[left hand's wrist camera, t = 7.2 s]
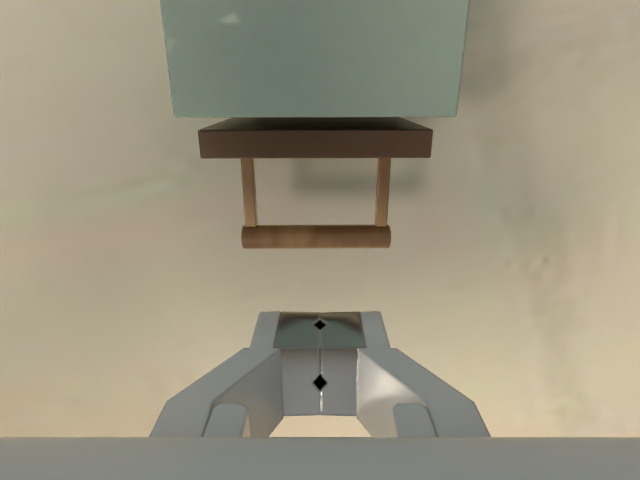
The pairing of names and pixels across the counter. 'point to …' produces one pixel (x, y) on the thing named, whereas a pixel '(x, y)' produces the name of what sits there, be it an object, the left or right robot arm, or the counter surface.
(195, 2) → the cabinet
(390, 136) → the drawer
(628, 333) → the counter surface
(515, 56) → the counter surface
